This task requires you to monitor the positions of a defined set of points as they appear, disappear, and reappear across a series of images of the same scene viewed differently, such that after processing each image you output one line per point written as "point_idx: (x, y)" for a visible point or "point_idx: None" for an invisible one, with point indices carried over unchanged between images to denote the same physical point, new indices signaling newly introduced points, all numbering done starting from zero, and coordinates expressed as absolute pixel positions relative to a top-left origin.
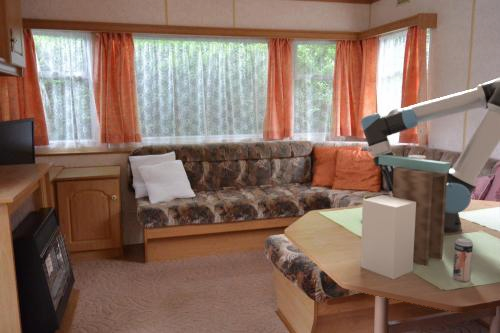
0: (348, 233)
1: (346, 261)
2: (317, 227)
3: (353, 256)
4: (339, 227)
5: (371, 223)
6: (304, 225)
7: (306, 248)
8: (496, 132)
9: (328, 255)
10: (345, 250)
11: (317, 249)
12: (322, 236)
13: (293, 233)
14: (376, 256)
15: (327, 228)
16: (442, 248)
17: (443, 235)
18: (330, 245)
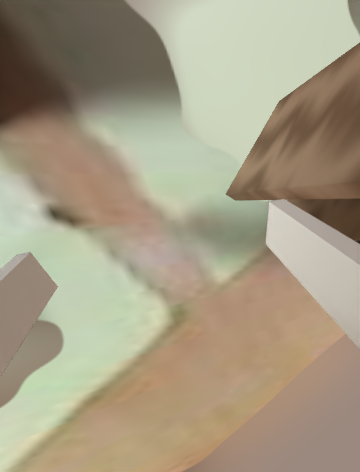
0: (155, 357)
1: None
2: (135, 437)
3: (303, 299)
4: (109, 396)
5: None
6: (131, 467)
7: (282, 388)
8: None
9: (307, 340)
10: (275, 323)
11: (282, 369)
12: (202, 396)
13: (203, 451)
14: None
15: (133, 415)
16: (306, 83)
17: (355, 46)
18: (255, 359)
